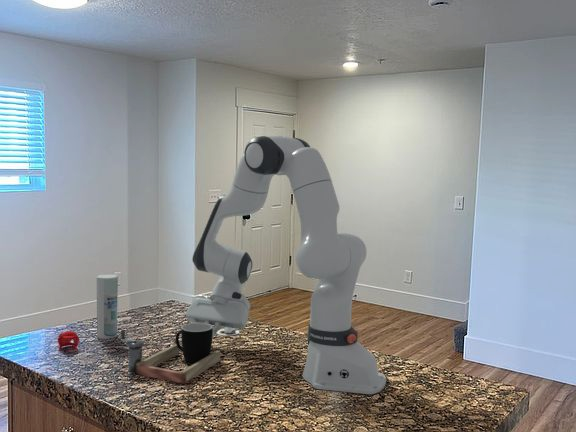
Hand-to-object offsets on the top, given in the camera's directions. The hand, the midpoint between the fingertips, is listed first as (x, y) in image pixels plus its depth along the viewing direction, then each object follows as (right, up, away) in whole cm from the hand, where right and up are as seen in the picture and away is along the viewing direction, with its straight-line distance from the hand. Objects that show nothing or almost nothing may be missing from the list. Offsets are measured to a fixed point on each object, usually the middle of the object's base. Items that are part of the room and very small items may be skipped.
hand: (207, 336), depth 166 cm
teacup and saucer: (+7, -4, +22) cm, 23 cm away
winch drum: (-19, -6, -16) cm, 25 cm away
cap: (-43, -4, 0) cm, 43 cm away
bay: (-6, -6, -14) cm, 16 cm away
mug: (-3, -6, -7) cm, 10 cm away
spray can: (-35, -3, +13) cm, 37 cm away
